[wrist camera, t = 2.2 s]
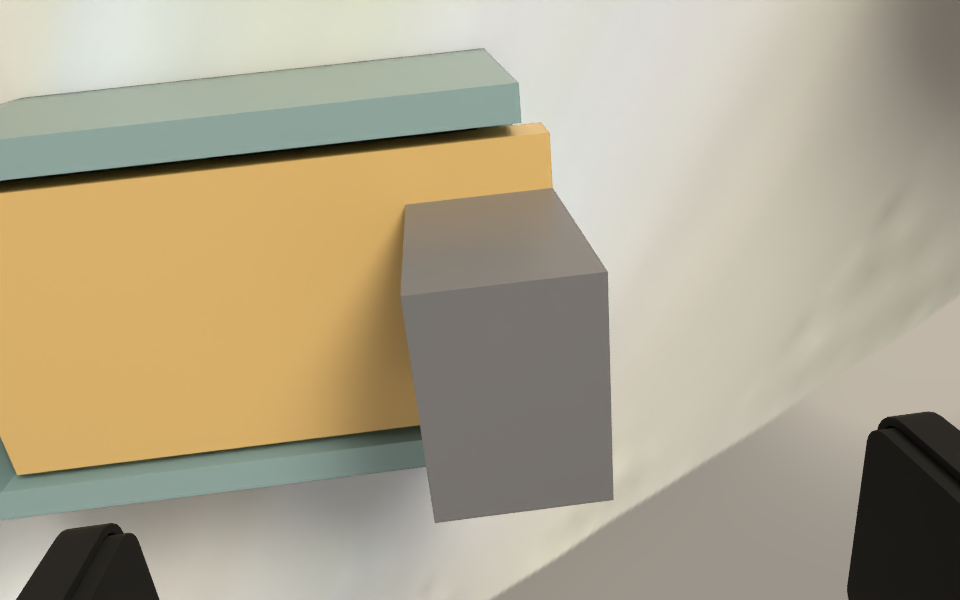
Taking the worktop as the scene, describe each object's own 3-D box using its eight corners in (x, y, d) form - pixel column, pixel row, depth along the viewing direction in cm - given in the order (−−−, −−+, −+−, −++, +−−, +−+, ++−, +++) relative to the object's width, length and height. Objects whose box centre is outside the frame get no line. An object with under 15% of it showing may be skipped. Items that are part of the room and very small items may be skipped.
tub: (483, 48, 22) (518, 82, 15) (507, 312, 26) (544, 451, 18) (21, 97, 22) (-194, 160, 14) (111, 360, 25) (-21, 522, 18)
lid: (540, 122, 16) (605, 195, 11) (556, 382, 19) (615, 551, 13) (-65, 189, 16) (-333, 304, 10) (41, 446, 19) (-125, 648, 13)
